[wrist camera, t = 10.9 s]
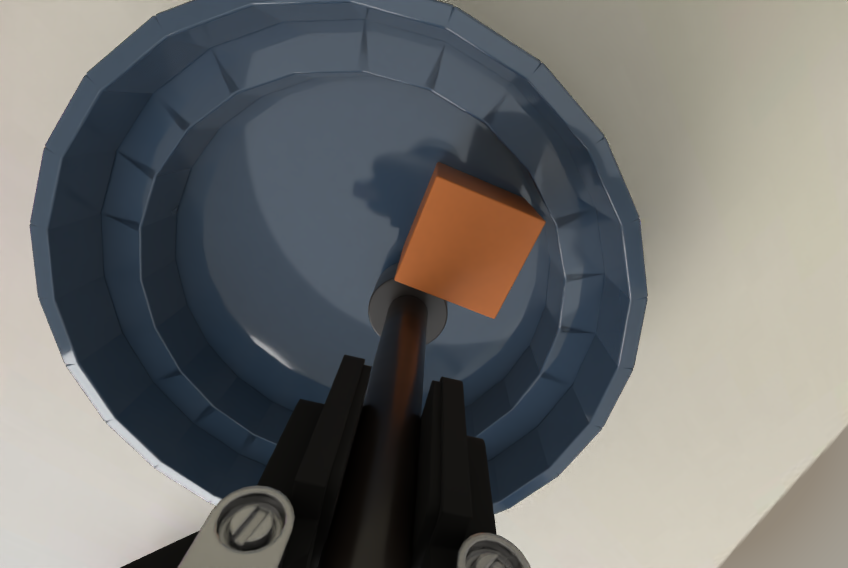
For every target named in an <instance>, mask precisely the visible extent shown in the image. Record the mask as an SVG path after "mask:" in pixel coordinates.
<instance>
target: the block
mask: <svg viewBox="0 0 848 568" xmlns="http://www.w3.org/2000/svg"><path fill="white" fill-rule="evenodd" d="M545 223H546V221H545V220H544V219H543V218H542V217H541V216H540V215H539V214H538V213H537V212H536V210H535V209H534V208H533V207H532V206H531V205H530V204H529V203H528V202H527V201H526V199H525V198H523V197H520V196H518V195H516V194H513V193H511V192H509V191H506V190H504V189H501V188H499V187H497V186H494V185H492V184H490V183H487V182H485V181H483V180H480V179H478V178H475V177H473V176H471V175H468V174H466V173H464V172H461V171H459V170H457V169H454V168H452V167H450V166H447V165H445V164H442V163H440V162H438V163H437V164H436V167H435V169H434V172H433V174H432V177H431V179H430V182H429V184H428V187H427V189H426V192H425V194H424V197H423V199H422V202H421V204H420V207H419V209H418V211H417V214H416V216H415V219H414V221H413V224H412V226H411V229H410V231H409V234H408V236H407V239H406V241H405V244H404V246H403V250H402V253H401V257H400V260H399V264H398V267H397V271H396V274H395V278H394V280H395V281H397V282H400V283H402V284H405V285H407V286H410V287H413V288H415V289H418V290H420V291H423V292H425V293H428V294H431V295H433V296H436V297H438V298H441V299H444V300H446V301H449V302H451V303H454V304H456V305H459V306H462V307H464V308H467V309H469V310H472V311H475V312H477V313H480V314H482V315H485V316H487V317H490V318H493V319H495V318H496V316H497V314H498V312H499V310H500V308H501V306H502V305H503V303H504V301H505V299H506V297H507V295H508V293H509V291H510V289H511V287H512V286H513V284H514V282H515V280H516V278H517V276H518V274H519V272H520V270H521V269H522V267H523V265H524V263H525V261H526V259H527V257H528V255H529V253H530V252H531V250H532V248H533V246H534V244H535V242H536V240H537V238H538V236H539V234H540V233H541V231H542V229H543V227H544V225H545Z"/></svg>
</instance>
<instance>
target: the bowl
mask: <svg viewBox="0 0 848 568" xmlns="http://www.w3.org/2000/svg"><path fill="white" fill-rule="evenodd" d="M86 74H87V75H85V76H84V77H83V79H82V81H81V83H80V84H79V86H78V88H77V90H76V91H75V93H74V95H73V97H72V99H71V100H70V102H69V104H68V106H67V107H66V109H65V111H64V113H63V114H62V116H61V118H60V120H59V121H58V123H57V125H56V127H55V129H54V130H53V132H52V134H51V136H50V137H49V139H48V141H47V143H46V144H45V148H44V151H43V156H42V161H41V167H40V172H39V177H38V183H37V188H36V193H35V199H34V204H33V210H32V215H31V220H30V223H31V224H30V233H31V241H32V250H33V258H34V267H35V276H36V284H37V293H38V298H39V301H40V303H41V306H42V308H43V311H44V313H45V316H46V318H47V321H48V323H49V326H50V328H51V331H52V333H53V336H54V338H55V341H56V343H57V346H58V348H59V351H60V354H61V356H62V359H63V361H64V363H65V364H66V367H67V368H68V370H69V371H70V373H71V374H72V376H73V377H74V378H75V380H76V381H77V383H78V384H79V386H80V387H81V388H82V390H83V391H84V393H85V394H86V396H87V397H88V399H89V400H90V401H91V403H92V404H93V406H94V407H95V409H96V410H97V411H98V413H99V414H100V416H101V417H102V419H103V420H104V421H106V423H107V424H108V425H109V426H110V427H111V428H112V429H113V430H114V431H115V432H116V433H117V434H118V435H119V436H120V437H121V438H123V439H124V440H125V441H126V442H127V443H128V444H129V445H130V446H131V447H132V448H133V449H134V450H135V451H136V452H137V453H138V454H140V455H141V456H142V457H143V458H144V459H145V460H146V461H147V462H148V463H149V464H150V465H151V466H152V467H155V469H156V470H158V471H159V472H161V473H162V474H164V475H165V476H167V477H169V478H170V479H172V480H173V481H175V482H177V483H178V484H180V485H181V486H183V487H184V488H186V489H188V490H189V491H191V492H192V493H194V494H196V495H197V496H199V497H200V498H202V499H203V500H205V501H207V502H208V503H209V502H210V504H213V505H215V506H216V505H217V504H218V503H219V501H220V500H222V499H223V498H224V497H226V496H227V495H228V494H230V493H231V492H234V491H236V490H239V489H241V488H244V487H250V486H256V485H257V484H258V482H259V480H260V478H261V476H262V474H263V472H264V470H265V468H266V466H267V464H268V461H269V459H270V457H271V455H272V453H273V451H274V449H275V447H276V445H277V443H278V441H279V439H280V437H281V435H282V433H283V431H284V429H285V427H286V425H287V423H288V421H289V419H290V417H291V415H292V413H293V411H294V409H295V406H296V404H297V403H298V401H299V400H300V399H304V400H308V401H313V402H318V403H322V404H325V402H326V399H327V397H328V394H329V392H330V389H331V387H332V384H333V382H334V379H335V377H336V374H337V372H338V369H339V367H340V364H341V361H342V359H343V357H344V355H349V356H354V357H358V358H363V359H365V363H364V365H368V366H373V363H374V359H375V355H376V352H377V348H378V344H379V341H380V336H379V335H378V334H377V333H376V332H375V331H374V329H373V327H372V325H371V323H370V320H369V315H368V306H369V301H370V298H371V296H372V293H373V291H374V288H375V285H376V283H377V281H378V278H379V277H380V275H381V274H382V273H383V272H384V271H385V270H386V269H387V268H388V267H390V266H392V265H394V264H396V263H399V260H400V257H401V253H402V250H403V246H404V244H405V241H406V239H407V236H408V234H409V231H410V229H411V226H412V224H413V221H414V219H415V216H416V214H417V211H418V209H419V207H420V204H421V202H422V199H423V197H424V194H425V192H426V189H427V187H428V184H429V182H430V179H431V177H432V174H433V172H434V169H435V167H436V164H437V163H438V162H440V163H442V164H445V165H447V166H450V167H452V168H454V169H457V170H459V171H461V172H464V173H466V174H468V175H471V176H473V177H475V178H478V179H480V180H483V181H485V182H487V183H490V184H492V185H494V186H497V187H499V188H501V189H504V190H506V191H509V192H511V193H513V194H516V195H518V196H520V197H523V198H525V199H526V201H527V202H528V203H529V204H530V205H531V206H532V207H533V208H534V209H535V210H536V212H537V213H538V214H539V215H540V216H541V217H542V218H543V219H544V220H545V221H546V223H545V225H544V227H543V229H542V231H541V233H540V234H539V236H538V238H537V240H536V242H535V244H534V246H533V248H532V250H531V252H530V253H529V255H528V257H527V259H526V261H525V263H524V265H523V267H522V269H521V270H520V272H519V274H518V276H517V278H516V280H515V282H514V284H513V286H512V287H511V289H510V291H509V293H508V295H507V297H506V299H505V301H504V303H503V305H502V306H501V308H500V310H499V312H498V314H497V316H496V318H495V319H493V318H490V317H487V316H485V315H482V314H480V313H477V312H475V311H472V310H469V309H467V308H464V307H462V306H459V305H456V304H454V303H451V302H449V301H447V307H448V316H447V322H446V325H445V327H444V329H443V331H442V332H441V333H440V335H439V336H438V337H437V338H436V339H434V340H433V341H432V342H430V343H428V344H426V349H425V365H424V380H423V396H422V412H421V416H422V413H423V409H424V406H425V403H426V399H427V396H428V393H429V389H430V386H431V383H432V381H433V380H434V381H440V379H441V377H447V378H451V379H455V380H460V381H462V382H463V390H464V404H465V418H466V432H467V435H468V436H472V437H477V438H481V439H483V440H484V442H485V446H486V454H487V462H488V470H489V478H490V486H491V495H492V503H493V511H494V514H496V513H499V512H502V511H504V510H507V509H509V508H511V507H512V506H514V505H515V504H517V503H518V502H520V501H521V500H523V499H524V498H526V497H527V496H529V495H530V494H532V493H533V492H535V491H537V490H538V489H540V488H541V487H543V486H544V485H546V484H547V483H549V482H550V481H552V480H553V479H555V478H556V477H558V476H559V474H561V473H562V472H563V471H564V470H565V469H566V467H567V466H568V465H569V464H570V463H571V462H572V461H573V460H574V459H575V458H576V457H577V456H578V454H579V453H580V452H581V451H582V450H583V449H584V448H585V447H586V446H587V445H588V444H589V443H590V441H591V440H592V439H593V438H594V437H595V436H596V435H597V434H598V433H599V432H600V431H601V430H602V427H604V425H605V423H606V421H607V419H608V417H609V415H610V413H611V411H612V409H613V407H614V406H615V404H616V402H617V400H618V398H619V396H620V394H621V392H622V390H623V388H624V386H625V384H626V382H627V381H628V379H629V377H630V375H631V373H632V371H633V368H634V365H635V360H636V355H637V350H638V345H639V340H640V335H641V329H642V324H643V319H644V314H645V309H646V304H647V296H648V294H647V284H646V274H645V264H644V255H643V245H642V235H641V226H640V219H639V214H638V212H637V210H636V207H635V205H634V203H633V200H632V198H631V196H630V193H629V191H628V189H627V186H626V184H625V182H624V179H623V177H622V175H621V172H620V170H619V168H618V165H617V163H616V161H615V158H614V156H613V153H612V151H611V149H610V146H609V144H608V142H607V139H606V138H605V137H604V134H603V133H602V132H601V131H600V129H599V128H598V127H597V126H596V125H595V124H594V122H593V121H592V120H591V119H590V118H589V116H588V115H587V114H586V113H585V112H584V111H583V109H582V108H581V107H580V106H579V105H578V103H577V102H576V101H575V100H574V99H573V97H572V96H571V95H570V94H569V93H568V92H567V90H566V89H565V88H564V87H563V86H562V84H561V83H560V82H559V81H558V80H557V79H556V77H555V76H554V75H553V74H552V73H551V71H550V70H549V69H548V68H547V67H546V65H545V64H544V63H541V61H540V60H539V59H537V58H535V57H534V56H532V55H531V54H529V53H528V52H526V51H525V50H523V49H522V48H520V47H518V46H517V45H515V44H514V43H512V42H511V41H509V40H508V39H506V38H505V37H503V36H501V35H500V34H498V33H497V32H495V31H494V30H492V29H491V28H489V27H488V26H486V25H484V24H483V23H481V22H480V21H478V20H477V19H475V18H474V17H472V16H471V15H469V14H467V13H466V12H464V11H463V10H461V9H460V8H458V7H454V6H453V5H452V4H449V3H445V2H442V1H438V0H192V1H189V2H187V3H184V4H181V5H179V6H176V7H174V8H171V9H168V10H166V11H163V12H160V13H158V14H156V16H152V17H151V18H150V19H149V20H148V21H147V22H145V23H144V24H143V25H142V26H141V27H140V28H138V29H137V30H136V31H135V32H134V33H133V34H131V35H130V36H129V37H128V38H127V39H125V40H124V41H123V42H122V43H121V44H120V45H118V46H117V47H116V48H115V49H114V50H113V51H111V52H110V53H109V54H108V55H107V56H106V57H104V58H103V59H102V60H101V61H100V62H99V63H97V64H96V65H95V66H94V67H93V68H92V69H90V70H89V71H88V72H87V73H86ZM371 370H372V369H371ZM370 374H371V373H370Z"/></svg>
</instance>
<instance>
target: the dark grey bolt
mask: <svg viewBox="0 0 848 568" xmlns="http://www.w3.org/2000/svg"><path fill="white" fill-rule="evenodd" d="M398 264H399V263H396V264H394V265H392V266H390V267H388V268H387V269H386V270H385V271H384V272H383V273H382V274H381V275H380V277H379V278H378V281H377V283H376V285H375V288H374V291H373V293H372V296H371V298H370V301H369V306H368V315H369V320H370V323H371V325H372V327H373V329H374V331H375V332H376V333H377V334H378V335H379V336H380V341H379V344H378V348H377V352H376V355H375V359H374V363H373V366H372V370H371V374H370V377H369V382H368V386H367V391H366V395H365V399H364V404H363V408H362V412H361V415H360V419H359V423H358V426H357V430H356V434H355V438H354V441H353V445H352V449H351V453H350V456H349V460H348V464H347V468H346V471H345V475H344V479H343V482H342V486H341V490H340V494H339V497H338V501H337V505H336V509H335V512H334V516H333V520H332V524H331V527H330V531H329V535H328V539H327V541H326V542H325V544H324V546H323V549H322V553H321V557H320V560H319V564H318V568H412V546H413V531H414V515H415V500H416V484H417V469H418V453H419V438H420V423H421V412H422V396H423V380H424V365H425V349H426V344H428V343H430V342H432V341H433V340H434V339H436V338H437V337H438V336H439V335H440V333H441V332H442V331H443V329H444V327H445V325H446V322H447V316H448V307H447V301H446V300H444V299H441V298H438V297H436V296H433V295H431V294H428V293H425V292H423V291H420V290H418V289H415V288H413V287H410V286H407V285H405V284H402V283H400V282H397V281H395V280H394V278H395V274H396V271H397V267H398Z"/></svg>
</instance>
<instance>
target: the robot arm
mask: <svg viewBox="0 0 848 568" xmlns="http://www.w3.org/2000/svg"><path fill="white" fill-rule="evenodd" d="M364 363H365V359H363V358H358V357H354V356H349V355H344V357H343V359H342V361H341V364H340V367H339V369H338V372H337V374H336V377H335V379H334V382H333V384H332V387H331V389H330V392H329V394H328V397H327V399H326V402H325V404H322V403H318V402H313V401H308V400H304V399H300V400H299V401H298V403H297V404H296V406H295V409H294V411H293V413H292V415H291V417H290V419H289V421H288V423H287V425H286V427H285V429H284V431H283V433H282V435H281V437H280V439H279V441H278V443H277V445H276V447H275V449H274V451H273V453H272V455H271V457H270V459H269V461H268V464H267V466H266V468H265V470H264V472H263V474H262V476H261V478H260V480H259V482H258V484H257V485H256V486H250V487H244V488H241V489H239V490H236V491H234V492H231V493H230V494H228V495H227V496H226V497H224V498H223V499H222V500H220V501H219V503H218V504H217V505H216V506H215V507H214V509H213V510H212V511H211V513H210V515H209V516H208V518H207V520H206V521H205V523H204V525H203V526H202V528H201V529H200V531H198V532H195V533H193V534H191V535H189V536H187V537H185V538H183V539H180V540H178V541H176V542H174V543H172V544H170V545H168V546H165V547H163V548H161V549H159V550H157V551H155V552H153V553H151V554H148V555H146V556H144V557H142V558H140V559H138V560H136V561H133V562H131V563H129V564H127V565H125V566H123V567H121V568H318V564H319V560H320V557H321V553H322V549H323V546H324V544H325V542H326V541H327V539H328V535H329V531H330V527H331V524H332V520H333V516H334V512H335V509H336V505H337V501H338V497H339V494H340V490H341V486H342V482H343V479H344V475H345V471H346V468H347V464H348V460H349V456H350V453H351V449H352V445H353V441H354V438H355V434H356V430H357V426H358V423H359V419H360V415H361V412H362V408H363V404H364V399H365V395H366V391H367V386H368V382H369V377H370V373H371V369H372V366H368V365H364ZM412 568H531V567H530V565H529V563H528V561H527V560H526V558H525V557H524V555H523V553H522V552H521V551H520V550H519V549H518V548H517V547H516V546H515V545H514V544H513V543H511V542H510V541H508V540H507V539H505V538H503V537H502V536H499V535H496V527H495V519H494V511H493V503H492V495H491V486H490V478H489V470H488V462H487V454H486V446H485V442H484V440H483V439H481V438H477V437H472V436H468V435H467V432H466V418H465V404H464V390H463V382H462V381H460V380H455V379H451V378H447V377H441V379H440V381H434V380H433V381H432V383H431V386H430V389H429V393H428V396H427V399H426V403H425V406H424V409H423V413H422V416H421V423H420V438H419V453H418V469H417V484H416V500H415V515H414V531H413V546H412Z"/></svg>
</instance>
